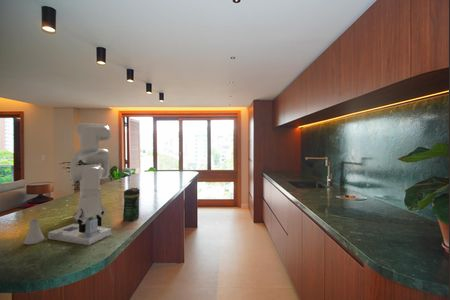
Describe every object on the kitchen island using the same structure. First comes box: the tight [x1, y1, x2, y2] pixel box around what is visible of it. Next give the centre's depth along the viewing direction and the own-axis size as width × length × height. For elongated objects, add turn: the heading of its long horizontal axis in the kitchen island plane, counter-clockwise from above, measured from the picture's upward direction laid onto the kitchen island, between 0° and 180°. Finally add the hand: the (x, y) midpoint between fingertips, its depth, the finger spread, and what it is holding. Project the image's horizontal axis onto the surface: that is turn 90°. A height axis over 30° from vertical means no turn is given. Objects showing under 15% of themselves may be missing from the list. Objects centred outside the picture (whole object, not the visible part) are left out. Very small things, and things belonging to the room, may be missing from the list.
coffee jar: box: [122, 187, 140, 222], centre depth 139 cm, size 10×8×19 cm
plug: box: [84, 216, 98, 234], centre depth 109 cm, size 5×4×12 cm
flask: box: [22, 218, 45, 246], centre depth 104 cm, size 7×7×10 cm
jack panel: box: [48, 223, 112, 246], centre depth 110 cm, size 24×13×4 cm, turn 74°
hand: (90, 228), depth 109 cm, fingers open, 8 cm apart
